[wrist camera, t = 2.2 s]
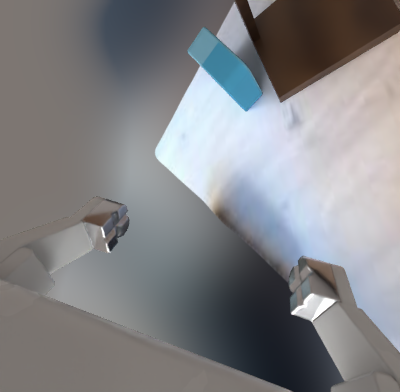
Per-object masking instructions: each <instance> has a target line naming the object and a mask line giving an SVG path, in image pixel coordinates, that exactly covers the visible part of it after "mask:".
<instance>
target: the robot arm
mask: <svg viewBox="0 0 400 392" xmlns="http://www.w3.org/2000/svg"><path fill="white" fill-rule="evenodd" d="M127 211H128V210H127V206H126V205H124V204H121V203H118V202H114V201H111V200H108V199H105V198H101V197H98V196H96V197H93V198H92V199H91V200H90V201H89V202H88V203H87V204H85V205H84V206H83V207H82V208H81V209H79V210H78V211H77V212H76V213H75V214H74V215H73V216H71V217H70V218H69V217H65V218H62V219H59V220H56V221H54V222H51V223H48V224H45V225H42V226H39V227H36V228H33V229H30V230H27V231H24V232H21V233H18V234H15V235H12V236H10V237H7V238H4V239H2V240H1V241H0V392H292V391H290V390H288V389H285V388H282V387H280V386H277V385H275V384H272V383H269V382H267V381H264V380H262V379H259V378H256V377H254V376H251V375H249V374H246V373H244V372H241V371H238V370H236V369H233V368H230V367H228V366H226V365H223V364H220V363H218V362H215V361H213V360H210V359H207V358H205V357H202V356H200V355H197V354H195V353H192V352H189V351H187V350H184V349H182V348H179V347H176V346H174V345H171V344H169V343H166V342H163V341H161V340H158V339H156V338H153V337H151V336H148V335H145V334H143V333H140V332H138V331H135V330H132V329H130V328H127V327H124V326H122V325H119V324H117V323H114V322H112V321H109V320H107V319H103V318H101V317H98V316H96V315H94V314H91V313H88V312H86V311H83V310H80V309H78V308H75V307H73V306H70V305H68V304H65V303H63V302H60V301H57V300H55V299H52V298H50V297H47V296H45V295H46V294H47V293H48V292H49V291H50V290H51V289H52V287H53V286H54V285H55V281H54V280H53V278H52V277H51V276H50V274H51V273H53V272H54V271H56V270H58V269H60V268H61V267H63V266H65V265H67V264H68V263H70V262H72V261H74V260H75V259H77V258H79V257H81V256H82V255H84V254H86V253H88V252H90V251H91V250H93V249H97V250H100V251H103V252H106V253H110V252H111V251H112V249H113V248H114V247H115V245H116V244H117V243H118V238H119V237H121V236H123V235H124V234H125V232H126V231H127V229H128V226H129V217H128V216H127V214H126V212H127ZM289 288H290V290H291V291H292V293H293V294H292V296H291V297H290V306H291V314H293V315H296V316H299V317H302V318H304V319H307V320H310V321H313V322H312V323H313V325H314V326H315V328H316V330H317V332H318V334H319V335H320V337H321V339H322V341H323V343H324V344H325V346H326V348H327V350H328V352H329V354H330V355H331V357H332V359H333V361H334V363H335V364H336V366H337V368H338V370H339V372H340V373H341V375H342V377H343V379H344V382H342V383H339V384H336V385H334V386H332V387H331V392H400V353H399V351H398V350H397V349H396V348H395V347H394V346H393V345H392V343H391V342H390V341H389V340H388V339H387V338H386V337H385V335H384V334H383V333H382V332H381V331H380V330H379V328H378V327H377V326H376V325H375V324H374V323H373V322H372V320H371V319H370V318H369V317H368V316H367V315H366V314H365V312H364V311H363V310H362V309H360V308H357V305H356V302H355V299H354V296H353V293H352V290H351V287H350V284H349V281H348V278H347V275H346V272H345V270H344V268H343V267H341V266H337V265H334V264H330V263H327V262H323V261H320V260H316V259H313V258H309V257H305V256H302V257H300V259H299V260H298V265H297V266H294V267H293V268H292V270H291V272H290V276H289Z"/></svg>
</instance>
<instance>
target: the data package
mask: <svg viewBox="0 0 400 392" xmlns="http://www.w3.org/2000/svg"><path fill="white" fill-rule="evenodd" d="M188 53H189V54H190V55H191V56H192V57H193V58H194V59H195V60H196V62H197V63H199V65H200V66H201V67H202V68H203V69H204V70H205V71H206V72H207V73H208V74H209V75H210V76H211V77H212V78H213V79H214V80H215V81H216V82H217V83H218V84H219V85H220V86H221V87H222V88H223V89H224V90H225V91H226V92H227V93H228V94H229V95H230V96H231V97H232V98H233V99H234V100H235V101H236V102H237V103H238V104H239V105H240V106H241V107H242V108H243V109H244V110H245V111H247V110H248V109H249V108H250V107H251V106H252V105H253V104H254V103H255V102H256V101H257V100H258V98H259V97H260V96H261V95H262V94H263V92H262V90H261V89H260V87H259V85H258V83H257V81H256V80H255V78H254V76H253V74H252V73H251V71H250V69H249V68H248V66H247V65H246V64H245V63H244V62H243V61H242V60H241V59H240V58H239V57H238V56H237V55H236V54H234V53H233V52H232V51H231V50H230V49H229V48H228V47H227V46H226V45H225V44H223V43H222V42H221V41H220V40H219V39H218V38H217V37H216V36H215V35H214V34H212V33H211V32H210V31H209V30H208V29H207V28H205V27H203V28H202V30H201V31H200V33H199V34H198V36H197V37H196V39H195V40H194V42H193V43H192V45H191V46H190V48H189V49H188Z"/></svg>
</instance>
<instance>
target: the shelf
mask: <svg viewBox="0 0 400 392" xmlns="http://www.w3.org/2000/svg"><path fill="white" fill-rule="evenodd" d="M234 2H235V4H236V6H237V9H238V11H239V13H240V15H241V18H242V20H243V22H244V25H245V27H246V29H247V32H248V34H249V36H250V38H251V40H252V43H253V45H254V47H255V49H256V51H257V53H258V55H259V57H260V60H261V62H262V64H263V66H264V68H265V70H266V72H267V74H268V77H269V79H270V81H271V83H272V85H273V87H274V89H275V91H276V94H277V96H278V98H279V100H280V102H283V101H284V100H286V99H288V98H289V97H291V96H293V95H294V94H296V93H298V92H299V91H301V90H303V89H304V88H306V87H308V86H309V85H311V84H313V83H314V82H316V81H318V80H319V79H321V78H323V77H324V76H326V75H328V74H329V73H331V72H333V71H334V70H336V69H338V68H339V67H341V66H343V65H344V64H346V63H348V62H349V61H351V60H353V59H354V58H356V57H358V56H359V55H361V54H363V53H364V52H366V51H368V50H369V49H371V48H373V47H374V46H376V45H378V44H379V43H381V42H383V41H384V40H386V39H388V38H389V37H391V36H393V35H394V34H396V33H398V32H399V30H400V11H399V9H398V8H397V6H396V4H395V3H394V1H393V0H276V1H275V2H274V3H272V4H271V5H270V6H269V7H268V8H267V9H265V10H264V11H263V12H262V13H261V14H260V15H258V16H257V17H256V18H255V19H254V18H253V15H252V12H251V9H250V6H249V4H248V1H247V0H234Z"/></svg>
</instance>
